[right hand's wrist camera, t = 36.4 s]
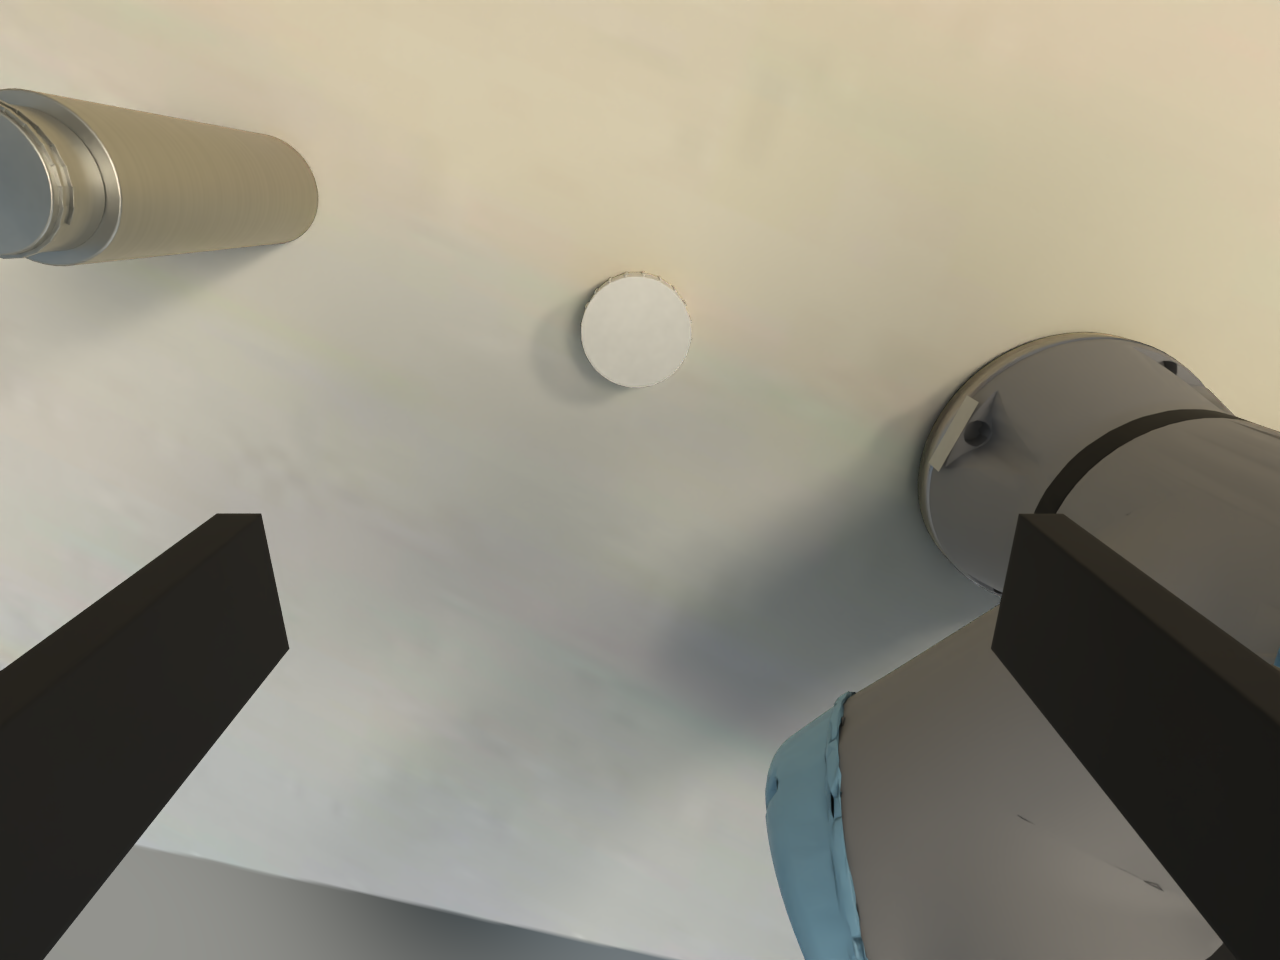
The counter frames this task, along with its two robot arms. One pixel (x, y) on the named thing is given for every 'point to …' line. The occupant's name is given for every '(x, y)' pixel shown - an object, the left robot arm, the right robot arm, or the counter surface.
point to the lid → (636, 330)
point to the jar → (139, 183)
